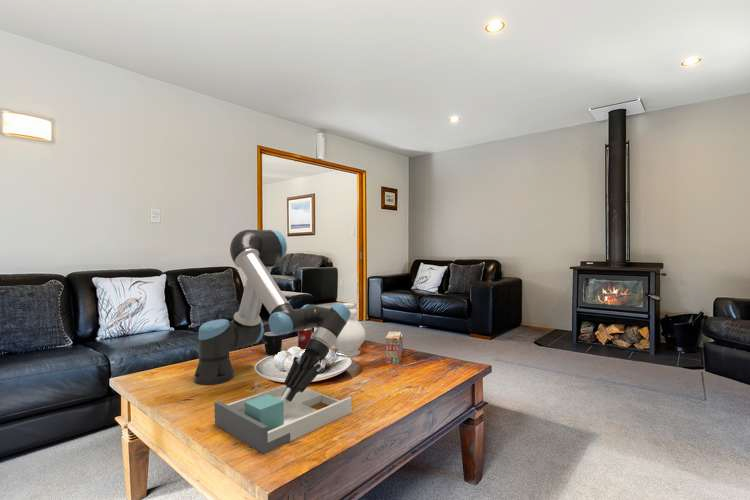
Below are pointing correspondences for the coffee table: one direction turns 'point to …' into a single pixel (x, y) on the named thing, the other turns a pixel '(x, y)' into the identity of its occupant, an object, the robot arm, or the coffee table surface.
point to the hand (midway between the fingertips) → (279, 409)
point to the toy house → (394, 347)
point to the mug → (272, 343)
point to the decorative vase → (350, 335)
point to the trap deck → (295, 418)
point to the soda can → (304, 337)
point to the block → (266, 411)
